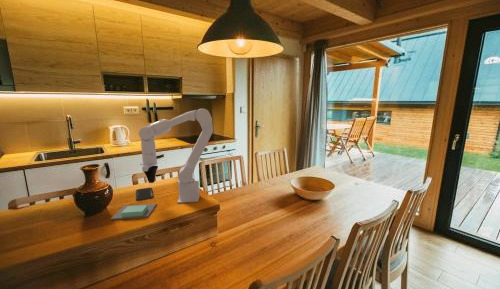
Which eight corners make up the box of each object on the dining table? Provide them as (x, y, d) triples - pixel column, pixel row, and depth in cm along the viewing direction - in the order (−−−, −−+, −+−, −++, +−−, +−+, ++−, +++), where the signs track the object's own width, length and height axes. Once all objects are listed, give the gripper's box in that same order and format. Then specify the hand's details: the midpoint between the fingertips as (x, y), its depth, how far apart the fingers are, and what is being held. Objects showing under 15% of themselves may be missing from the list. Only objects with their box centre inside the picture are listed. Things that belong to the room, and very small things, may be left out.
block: (147, 205, 99) (142, 211, 93) (147, 209, 99) (143, 216, 93) (127, 206, 98) (121, 212, 92) (128, 210, 98) (122, 217, 92)
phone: (151, 187, 126) (153, 196, 113) (152, 189, 126) (153, 198, 113) (135, 189, 123) (135, 199, 109) (135, 191, 123) (135, 201, 110)
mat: (156, 205, 105) (156, 203, 105) (148, 217, 93) (147, 216, 93) (124, 207, 103) (123, 205, 103) (111, 220, 91) (111, 218, 91)
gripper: (145, 150, 110) (147, 178, 112) (133, 157, 95) (136, 188, 98) (160, 149, 110) (162, 177, 113) (151, 156, 96) (153, 187, 98)
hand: (151, 182), depth 105 cm, fingers closed
